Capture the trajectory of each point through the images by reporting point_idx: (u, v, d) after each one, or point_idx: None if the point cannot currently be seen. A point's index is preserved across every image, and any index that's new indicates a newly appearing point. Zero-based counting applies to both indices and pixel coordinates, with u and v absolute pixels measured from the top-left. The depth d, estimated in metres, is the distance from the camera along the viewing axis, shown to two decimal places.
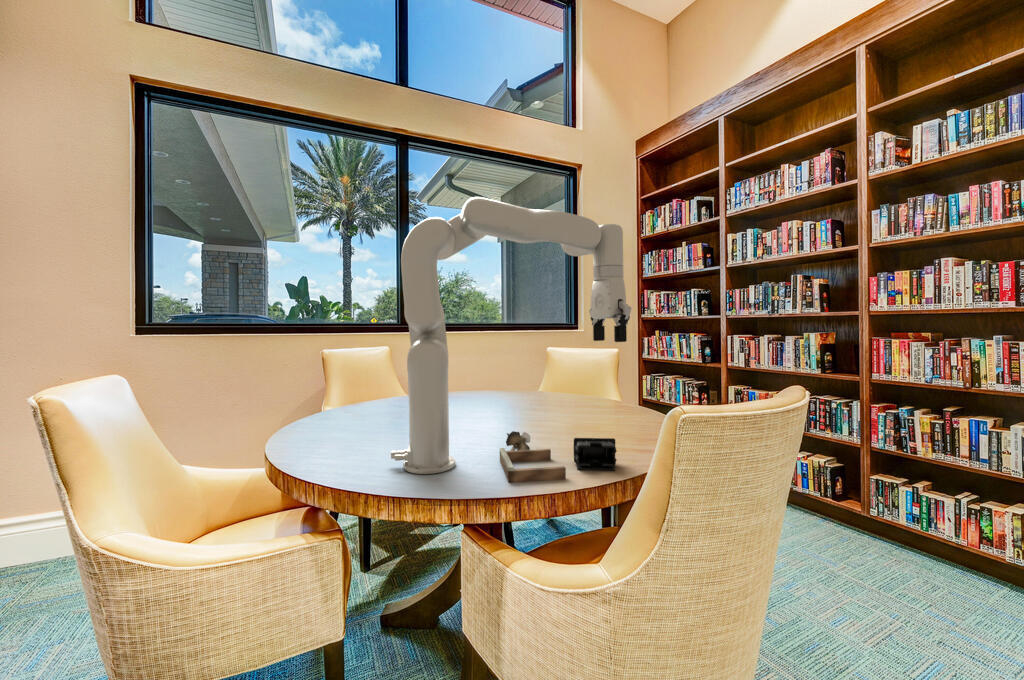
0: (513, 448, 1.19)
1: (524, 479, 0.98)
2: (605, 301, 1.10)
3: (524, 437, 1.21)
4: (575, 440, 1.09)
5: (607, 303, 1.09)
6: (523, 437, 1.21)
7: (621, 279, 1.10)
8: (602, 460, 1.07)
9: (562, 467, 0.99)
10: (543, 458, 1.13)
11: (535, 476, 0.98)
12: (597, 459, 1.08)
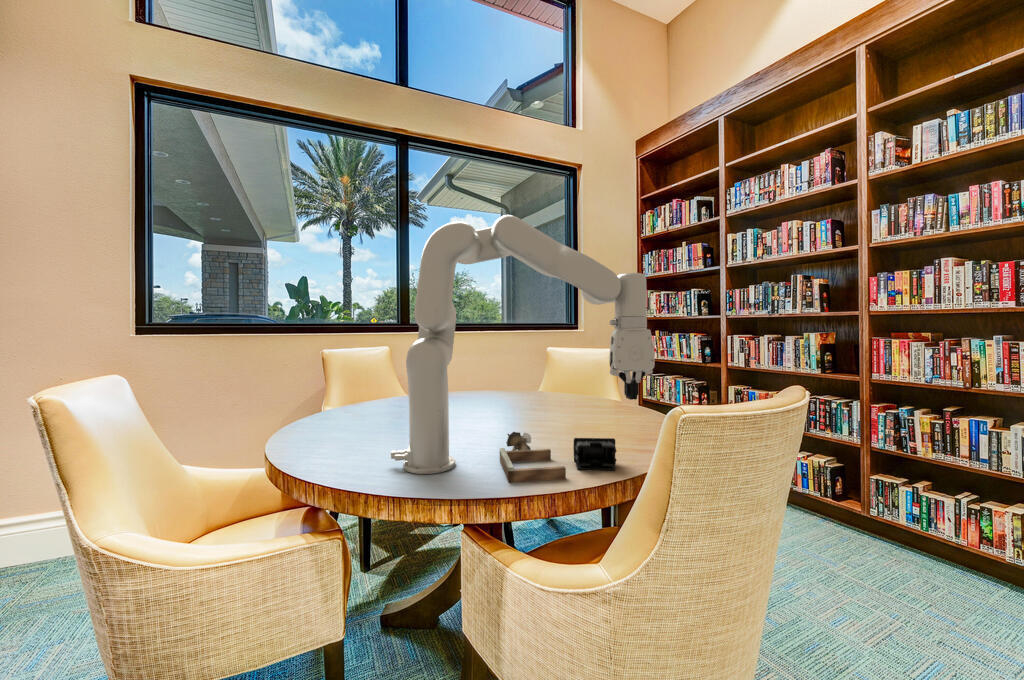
0: (514, 449, 1.18)
1: (524, 479, 0.98)
2: (646, 353, 1.06)
3: (525, 438, 1.20)
4: (575, 440, 1.09)
5: (649, 355, 1.07)
6: (524, 438, 1.20)
7: None
8: (602, 460, 1.07)
9: (562, 467, 0.99)
10: (543, 458, 1.13)
11: (535, 476, 0.98)
12: (597, 459, 1.08)
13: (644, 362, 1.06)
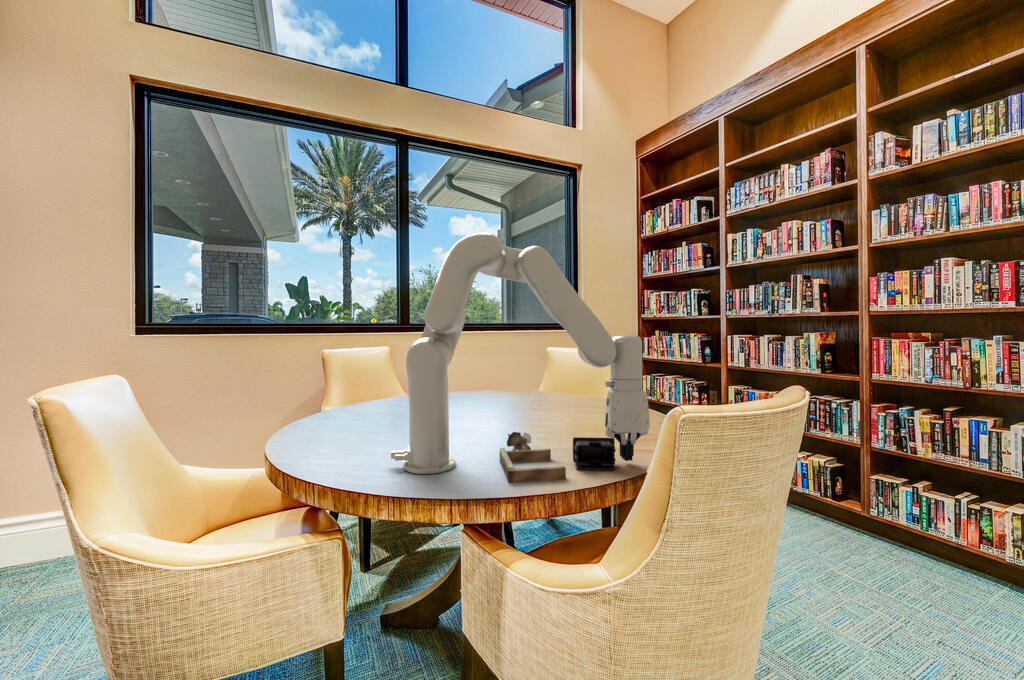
0: (514, 449, 1.18)
1: (524, 479, 0.98)
2: (641, 415, 1.07)
3: (525, 438, 1.20)
4: (574, 440, 1.09)
5: (644, 417, 1.07)
6: (524, 438, 1.20)
7: None
8: (601, 459, 1.07)
9: (562, 467, 0.99)
10: (543, 458, 1.13)
11: (535, 476, 0.98)
12: (596, 459, 1.08)
13: (639, 424, 1.07)
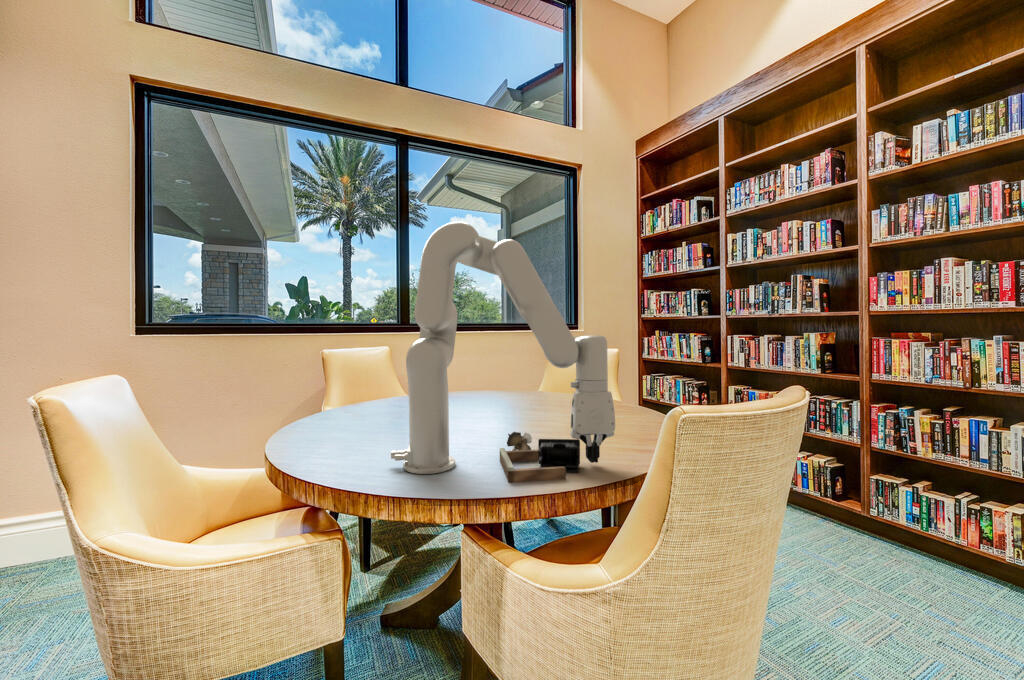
0: (514, 449, 1.18)
1: (524, 479, 0.98)
2: (607, 416, 1.05)
3: (525, 438, 1.20)
4: (539, 441, 1.08)
5: (610, 418, 1.06)
6: (524, 438, 1.20)
7: None
8: (566, 461, 1.06)
9: (562, 467, 0.99)
10: None
11: (535, 476, 0.98)
12: (561, 460, 1.07)
13: (604, 426, 1.05)
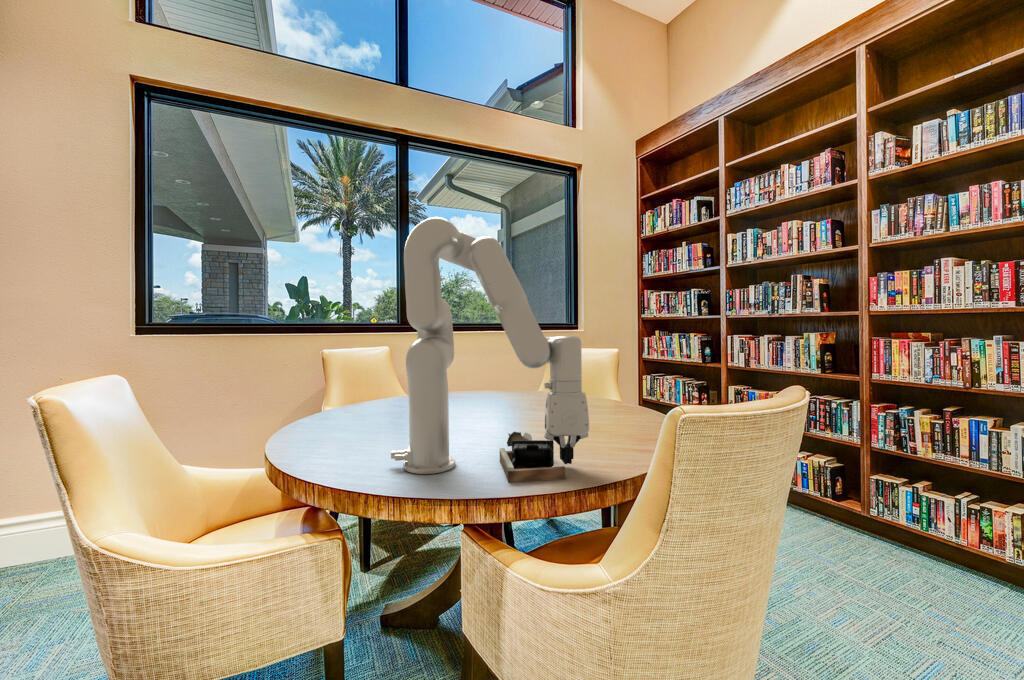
0: None
1: (524, 479, 0.98)
2: (580, 417, 1.04)
3: (526, 438, 1.20)
4: (513, 443, 1.07)
5: (583, 419, 1.05)
6: (525, 438, 1.20)
7: None
8: (540, 463, 1.05)
9: (562, 467, 0.99)
10: None
11: (535, 476, 0.98)
12: (535, 462, 1.06)
13: (578, 427, 1.04)
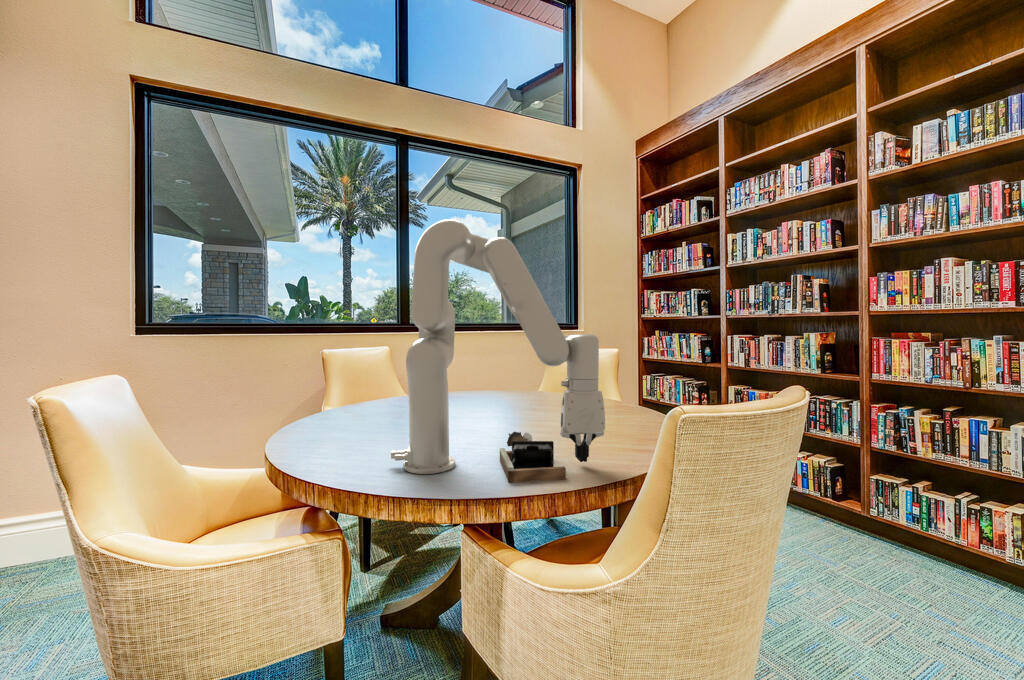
0: None
1: (524, 479, 0.98)
2: (596, 416, 1.05)
3: (526, 438, 1.20)
4: (513, 443, 1.07)
5: (600, 418, 1.05)
6: (525, 438, 1.20)
7: None
8: (540, 463, 1.05)
9: (562, 467, 0.99)
10: None
11: (535, 476, 0.98)
12: (535, 462, 1.06)
13: (594, 425, 1.05)
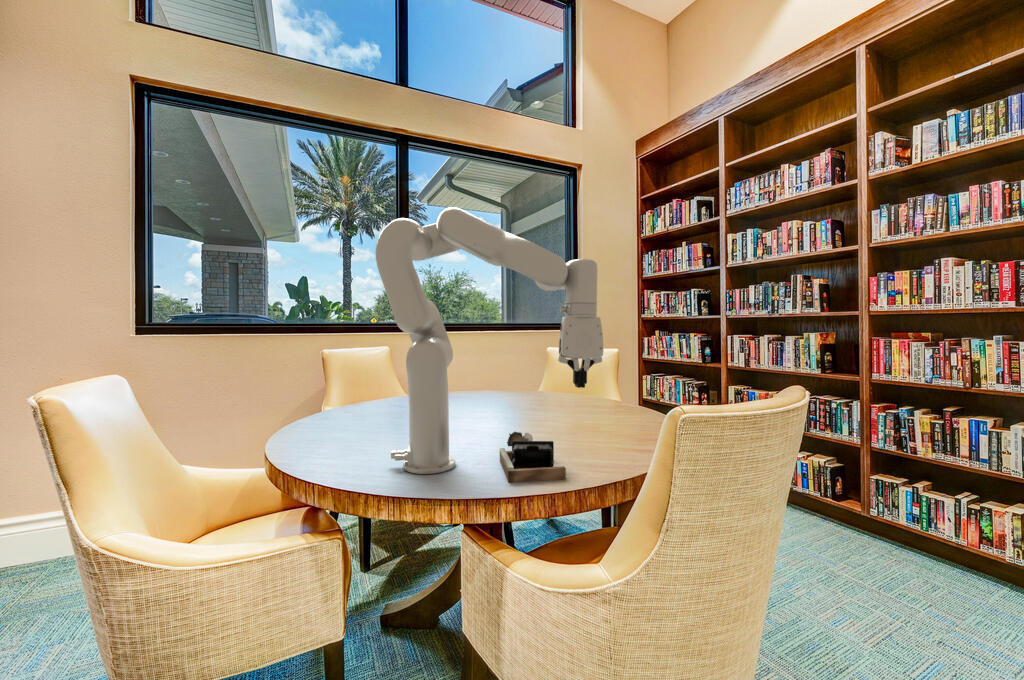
0: None
1: (524, 479, 0.98)
2: (595, 341, 1.05)
3: (526, 438, 1.20)
4: (513, 443, 1.07)
5: (598, 343, 1.05)
6: (525, 438, 1.20)
7: None
8: (540, 463, 1.05)
9: (562, 467, 0.99)
10: None
11: (535, 476, 0.98)
12: (535, 462, 1.06)
13: (592, 350, 1.05)
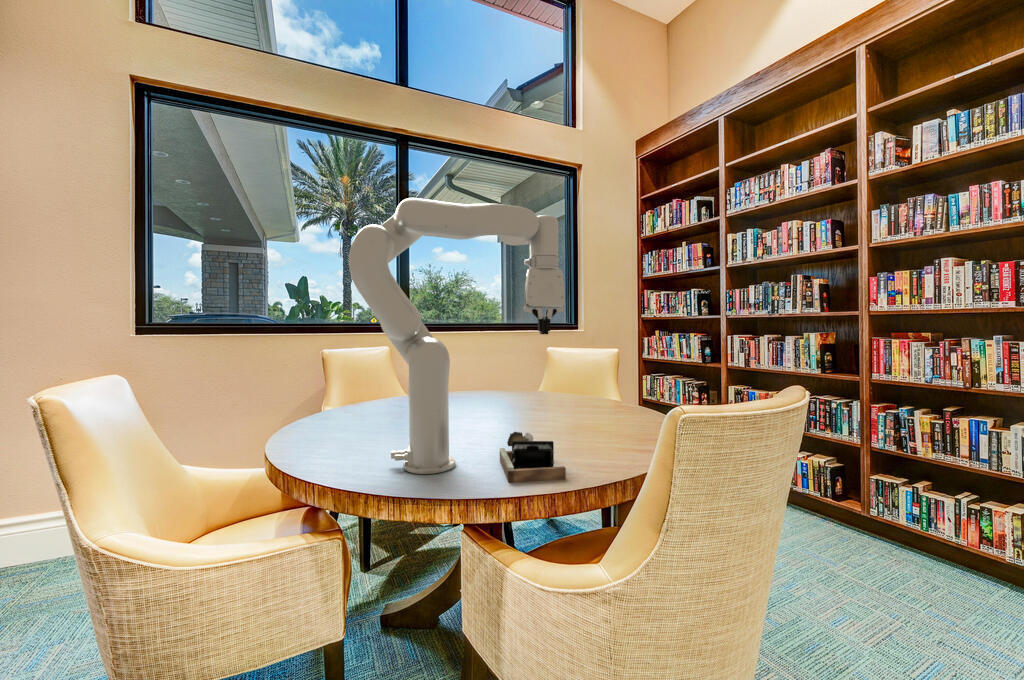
0: None
1: (524, 479, 0.98)
2: (556, 290, 1.14)
3: (527, 438, 1.20)
4: (513, 443, 1.07)
5: (559, 292, 1.15)
6: (526, 438, 1.20)
7: None
8: (540, 463, 1.05)
9: (562, 467, 0.99)
10: None
11: (535, 476, 0.98)
12: (535, 462, 1.06)
13: (554, 299, 1.14)
